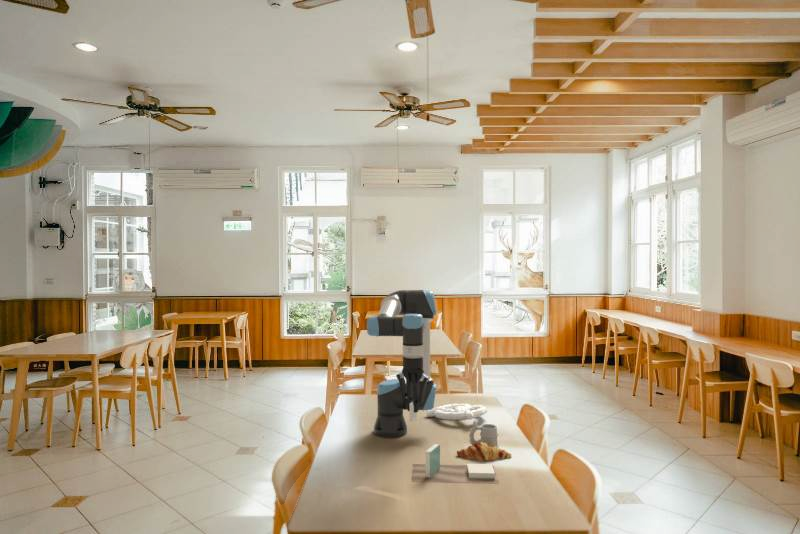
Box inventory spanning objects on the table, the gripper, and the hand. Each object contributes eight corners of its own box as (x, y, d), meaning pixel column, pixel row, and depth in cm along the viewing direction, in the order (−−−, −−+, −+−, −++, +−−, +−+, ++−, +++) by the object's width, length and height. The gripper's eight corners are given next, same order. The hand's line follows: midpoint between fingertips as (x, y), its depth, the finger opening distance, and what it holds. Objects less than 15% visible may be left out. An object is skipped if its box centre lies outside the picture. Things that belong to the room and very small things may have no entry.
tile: (435, 468, 182) (434, 443, 181) (440, 469, 181) (439, 444, 181) (425, 476, 174) (425, 451, 174) (430, 477, 174) (430, 452, 173)
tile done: (467, 469, 181) (467, 463, 181) (491, 469, 180) (491, 464, 180) (468, 478, 173) (468, 472, 173) (494, 479, 172) (494, 473, 172)
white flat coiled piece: (421, 421, 244) (420, 408, 245) (450, 412, 262) (449, 399, 263) (468, 426, 226) (467, 411, 227) (495, 415, 244) (494, 402, 244)
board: (412, 467, 185) (412, 464, 185) (493, 468, 184) (493, 465, 184) (411, 485, 170) (411, 481, 170) (499, 487, 169) (499, 483, 169)
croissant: (509, 465, 195) (508, 444, 199) (514, 463, 186) (512, 440, 190) (456, 464, 196) (455, 443, 200) (458, 461, 187) (457, 439, 191)
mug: (499, 454, 198) (499, 424, 198) (469, 453, 199) (469, 423, 199) (497, 447, 205) (497, 418, 205) (469, 446, 207) (468, 417, 207)
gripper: (392, 356, 181) (392, 420, 181) (424, 359, 175) (424, 426, 175) (402, 353, 188) (402, 415, 188) (433, 356, 181) (433, 420, 181)
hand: (413, 420), depth 181 cm, fingers closed
